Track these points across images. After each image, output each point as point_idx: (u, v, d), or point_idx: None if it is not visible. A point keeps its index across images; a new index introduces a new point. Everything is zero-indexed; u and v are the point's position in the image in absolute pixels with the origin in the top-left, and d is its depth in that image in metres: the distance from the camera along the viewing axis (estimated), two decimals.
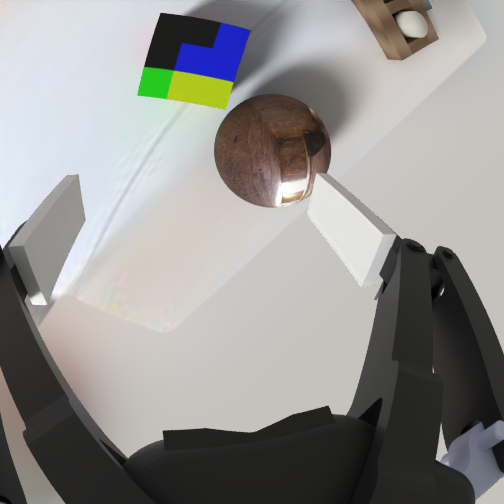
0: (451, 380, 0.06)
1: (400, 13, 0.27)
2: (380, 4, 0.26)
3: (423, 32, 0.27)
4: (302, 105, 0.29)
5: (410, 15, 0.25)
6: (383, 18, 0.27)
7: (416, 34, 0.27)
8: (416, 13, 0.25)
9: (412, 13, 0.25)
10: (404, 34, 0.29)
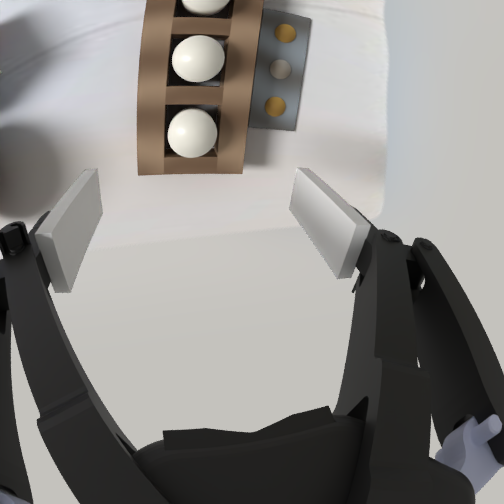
0: (439, 375, 0.07)
1: (187, 109, 0.26)
2: (156, 84, 0.23)
3: (195, 151, 0.27)
4: None
5: (186, 116, 0.25)
6: (144, 106, 0.24)
7: (176, 148, 0.26)
8: (204, 117, 0.25)
9: (194, 115, 0.25)
10: None
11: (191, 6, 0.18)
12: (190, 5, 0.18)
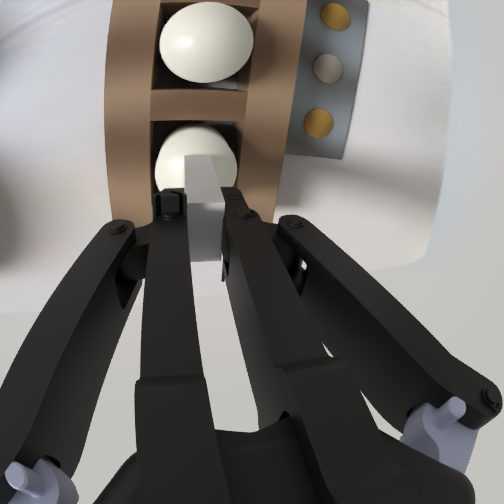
0: (365, 368, 0.07)
1: (186, 127, 0.16)
2: (135, 87, 0.13)
3: None
4: None
5: (186, 142, 0.15)
6: (117, 124, 0.15)
7: None
8: (216, 144, 0.15)
9: (199, 140, 0.15)
10: None
11: None
12: None
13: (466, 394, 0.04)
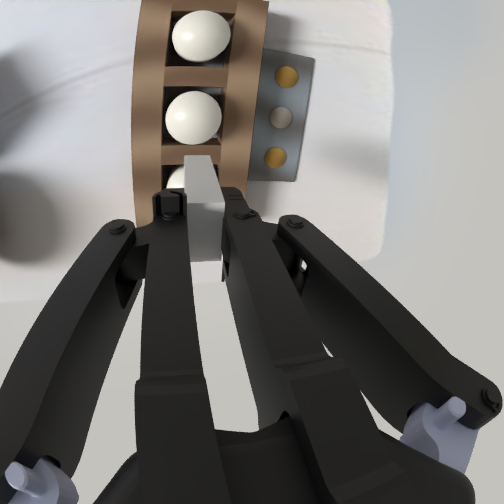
0: (365, 368, 0.07)
1: None
2: (151, 143, 0.24)
3: None
4: None
5: None
6: (140, 166, 0.25)
7: None
8: None
9: None
10: None
11: (184, 56, 0.19)
12: (183, 55, 0.19)
13: (466, 394, 0.04)
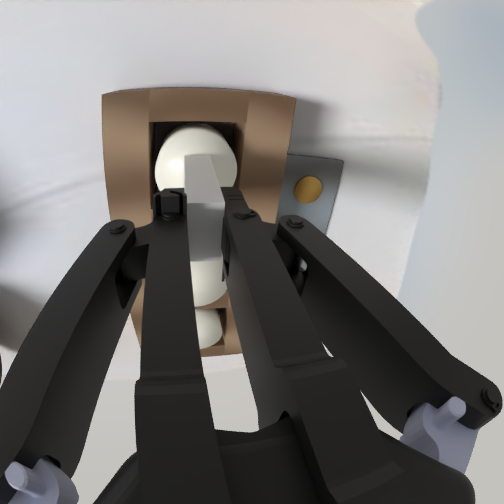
0: (365, 368, 0.07)
1: None
2: None
3: (200, 345, 0.27)
4: None
5: None
6: (139, 312, 0.23)
7: None
8: (207, 322, 0.25)
9: (197, 321, 0.25)
10: None
11: None
12: None
13: (466, 394, 0.04)
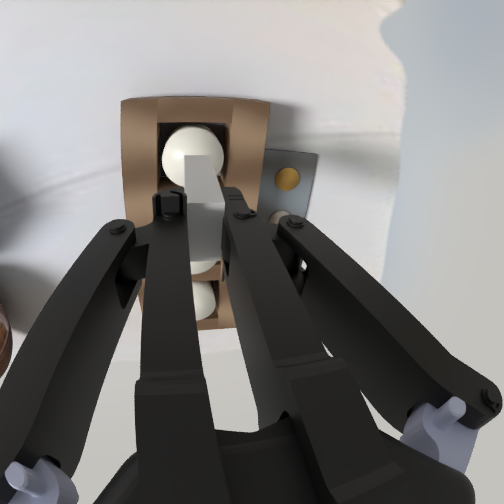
0: (365, 368, 0.07)
1: None
2: None
3: (197, 316, 0.31)
4: None
5: None
6: (143, 283, 0.28)
7: None
8: (202, 293, 0.29)
9: (193, 291, 0.29)
10: None
11: None
12: (176, 183, 0.22)
13: (466, 394, 0.04)
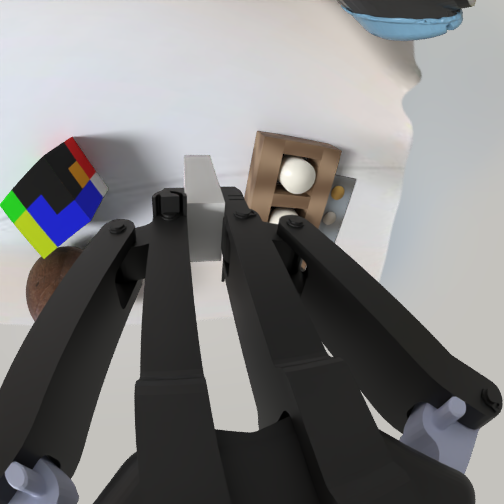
0: (365, 368, 0.07)
1: None
2: None
3: None
4: None
5: None
6: None
7: None
8: None
9: None
10: None
11: (286, 189, 0.39)
12: (287, 190, 0.39)
13: (466, 394, 0.04)
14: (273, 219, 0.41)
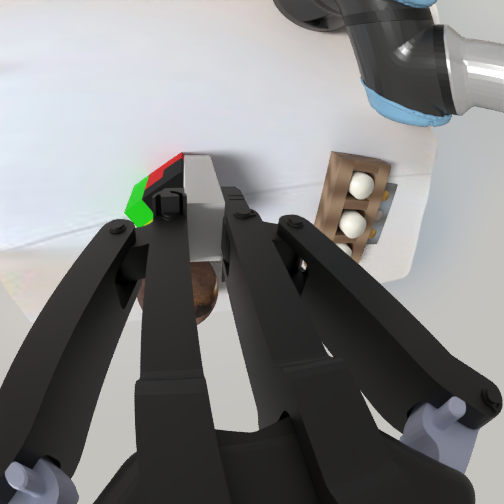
0: (365, 368, 0.07)
1: None
2: (331, 234, 0.54)
3: None
4: (212, 282, 0.47)
5: None
6: None
7: None
8: (348, 249, 0.57)
9: (344, 248, 0.57)
10: None
11: (354, 196, 0.50)
12: (354, 196, 0.50)
13: (466, 394, 0.04)
14: (344, 218, 0.52)
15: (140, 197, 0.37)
